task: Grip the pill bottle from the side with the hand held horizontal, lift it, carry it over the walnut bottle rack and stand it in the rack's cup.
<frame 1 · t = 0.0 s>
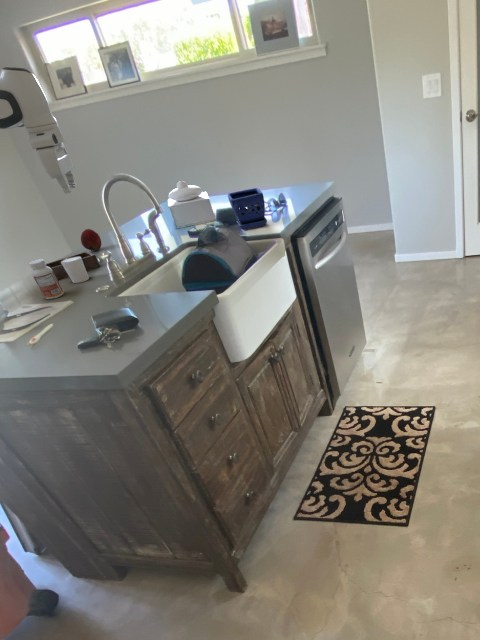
hand: (71, 190, 164), 27 cm above the worktop, tool pointing down, fingers open, 8 cm apart
white cup: (81, 280, 185), on the worktop
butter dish: (195, 221, 235), on the worktop
rack: (72, 271, 194), on the worktop
apple: (95, 251, 215), on the worktop
flower pot: (253, 226, 214), on the worktop
pill bottle: (55, 296, 174), on the worktop
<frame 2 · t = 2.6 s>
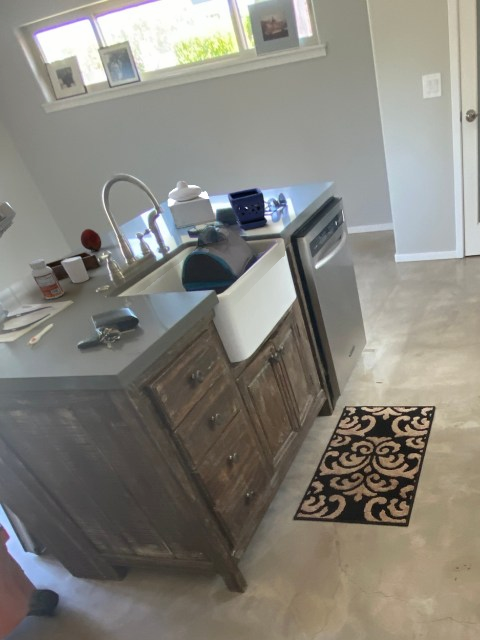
nothing on the worktop moved.
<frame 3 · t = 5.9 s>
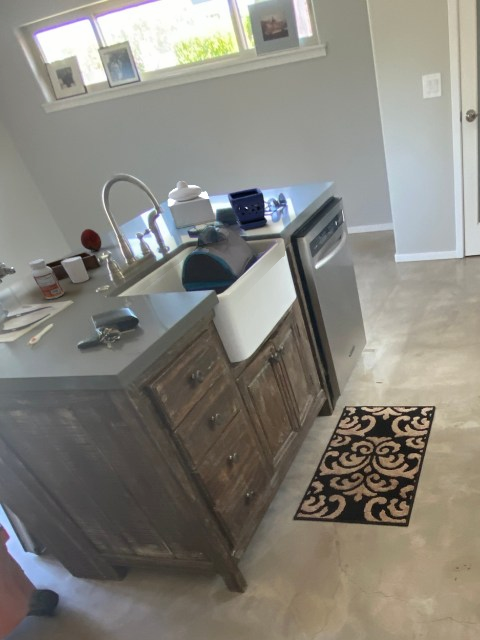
hand: (7, 275, 169), 8 cm above the worktop, tool horizontal, fingers open, 8 cm apart
nothing on the worktop moved.
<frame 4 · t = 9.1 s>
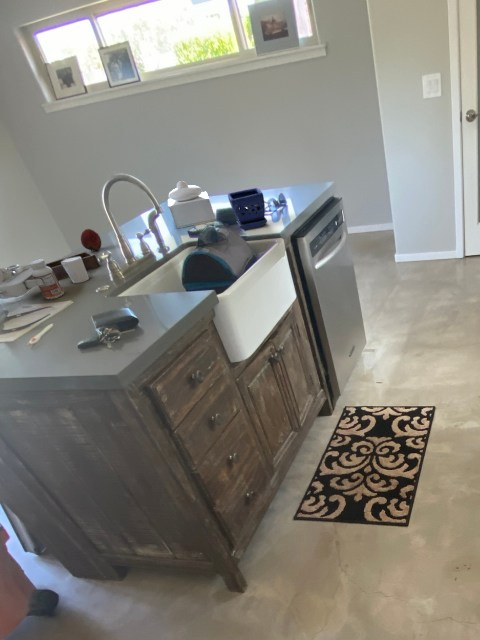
hand: (47, 277, 170), 6 cm above the worktop, tool horizontal, fingers closed on pill bottle, 6 cm apart
pill bottle: (55, 296, 174), on the worktop, touching gripper
everything else where it was.
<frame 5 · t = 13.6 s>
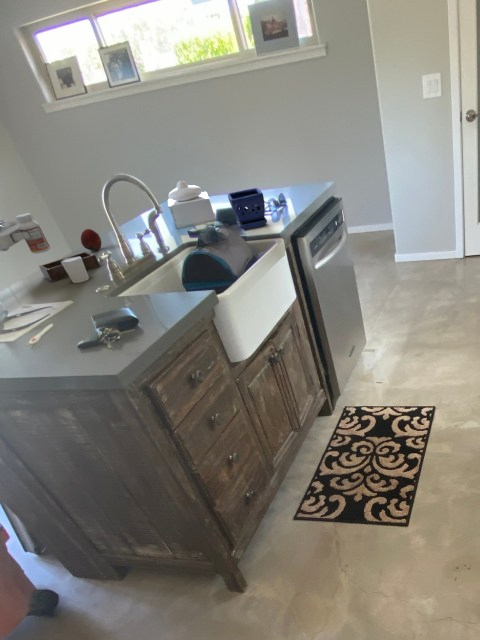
hand: (34, 231, 174), 17 cm above the worktop, tool horizontal, fingers closed on pill bottle, 6 cm apart
pill bottle: (42, 251, 178), point 11 cm above the worktop, touching gripper
everything else where it was.
when the fingers open (7 cm above the worktop, at t = 18.2 s): pill bottle stays where it is, resting on rack.
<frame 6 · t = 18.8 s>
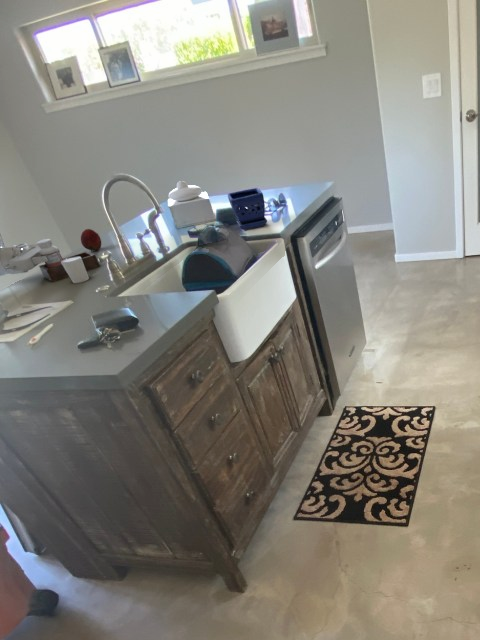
hand: (52, 254, 187), 7 cm above the worktop, tool horizontal, fingers open, 8 cm apart
pill bottle: (60, 273, 192), point 1 cm above the worktop, touching rack
everything else where it was.
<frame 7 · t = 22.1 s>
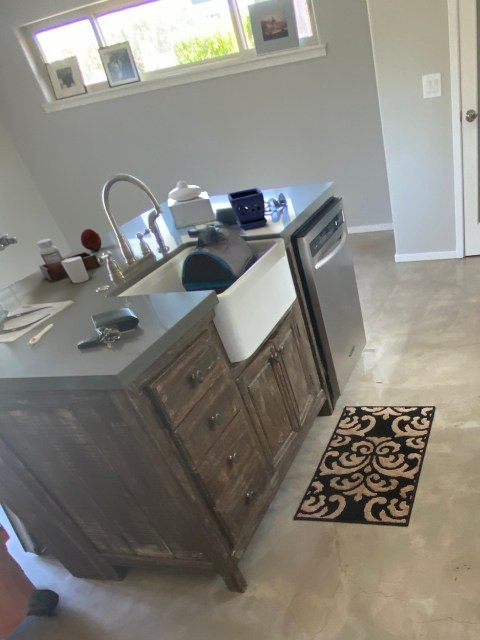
hand: (9, 243, 184), 13 cm above the worktop, tool horizontal, fingers open, 8 cm apart
nothing on the worktop moved.
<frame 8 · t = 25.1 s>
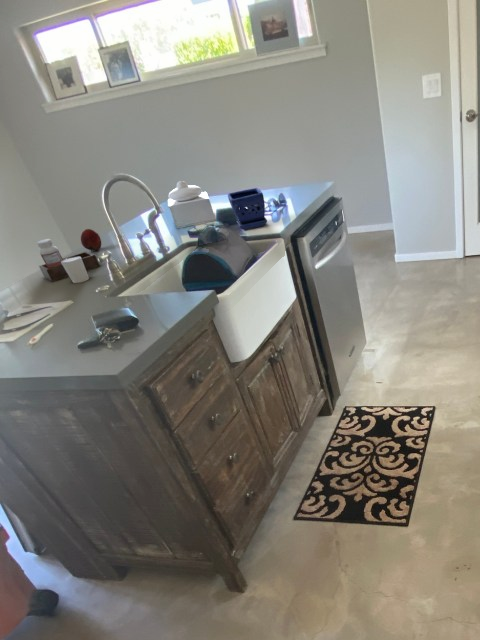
nothing on the worktop moved.
at the end: pill bottle 0.1 cm from the target spot in the rack, point 0.6 cm above the rack's base; pill bottle tilted 0°; the gripper is holding nothing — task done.
